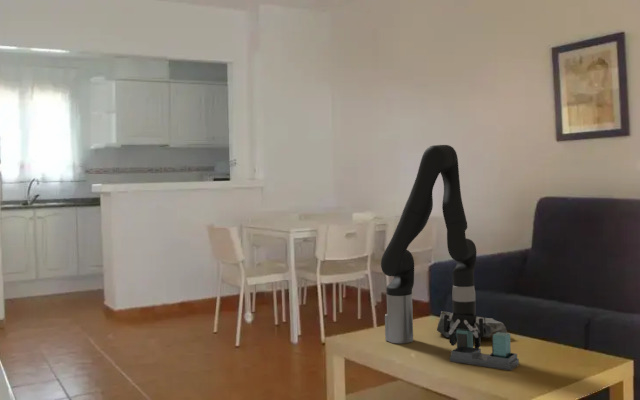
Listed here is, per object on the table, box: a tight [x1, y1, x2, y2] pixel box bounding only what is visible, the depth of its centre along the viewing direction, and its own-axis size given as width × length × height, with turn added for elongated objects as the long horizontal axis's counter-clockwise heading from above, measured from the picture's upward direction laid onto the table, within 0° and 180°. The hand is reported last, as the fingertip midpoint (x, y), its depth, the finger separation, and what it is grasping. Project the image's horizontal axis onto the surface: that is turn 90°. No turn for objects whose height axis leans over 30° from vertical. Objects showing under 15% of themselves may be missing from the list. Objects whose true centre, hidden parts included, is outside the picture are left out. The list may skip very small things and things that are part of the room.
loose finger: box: [456, 329, 474, 348], centre depth 226 cm, size 4×4×8 cm
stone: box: [436, 311, 508, 339], centre depth 251 cm, size 24×8×25 cm
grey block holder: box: [449, 332, 520, 371], centre depth 214 cm, size 20×7×10 cm, turn 54°
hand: (465, 346), depth 226 cm, fingers open, 8 cm apart
